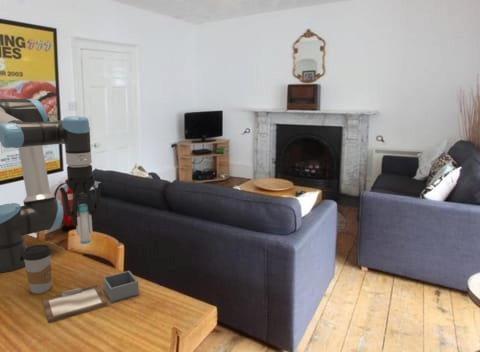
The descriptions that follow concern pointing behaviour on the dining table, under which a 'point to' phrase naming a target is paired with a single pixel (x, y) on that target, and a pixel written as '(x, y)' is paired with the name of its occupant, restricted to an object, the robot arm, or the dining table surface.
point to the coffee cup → (38, 268)
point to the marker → (84, 223)
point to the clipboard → (73, 303)
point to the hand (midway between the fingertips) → (84, 233)
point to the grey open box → (120, 286)
